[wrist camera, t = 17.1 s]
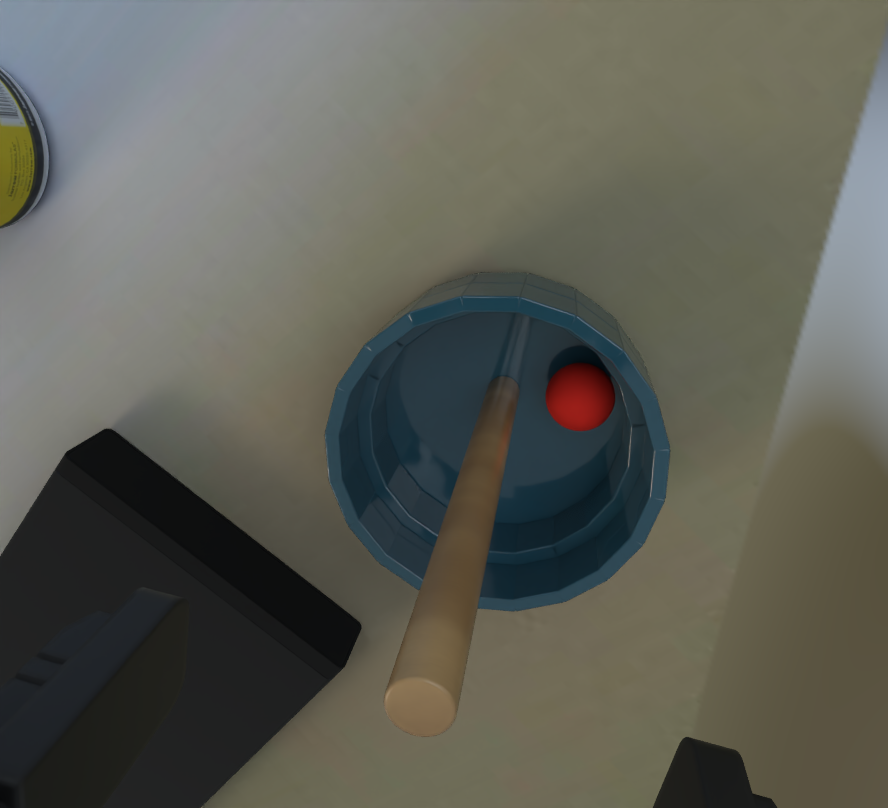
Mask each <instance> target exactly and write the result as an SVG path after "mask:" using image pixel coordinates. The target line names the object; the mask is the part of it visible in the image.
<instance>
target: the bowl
mask: <svg viewBox="0 0 888 808" xmlns="http://www.w3.org/2000/svg"><path fill="white" fill-rule="evenodd" d="M573 363H588V364H592V365H594V366H596V367H598V368H600V369H601V370H603V371H604V372H605V373H606V374H607V375H608V377H609V378H610V379H611V381H612V383H613V386H614V390H615V404H614V408H613V410H612V412H611V414H610V416H609V417H608V418H607V420H606V421H605V422H604V423H602V424H601V425H599V426H598V427H596V428H594V429H591V430H587V431H574V430H570V429H567V428H565V427H563V426H561V425H560V424H559V423H557V422H556V421H555V420H554V419H553V417H552V416H551V414H550V413H549V411H548V408H547V405H546V389H547V386H548V383H549V381H550V379H551V378H552V377H553V375H554V374H555V373H556V372H557V371H558V370H560V369H561V368H563V367H565V366H567V365H570V364H573ZM500 376H506V377H509V378H511V379H513V380H514V381H515V382H516V383H517V384H518V386H519V390H520V393H519V399H518V404H517V409H516V414H515V419H514V424H513V429H512V435H511V440H510V445H509V450H508V455H507V460H506V465H505V470H504V475H503V480H502V486H501V491H500V496H499V501H498V506H497V511H496V516H495V521H494V526H493V532H492V537H491V542H490V547H489V552H488V557H487V562H486V567H485V572H484V577H483V583H482V588H481V593H480V598H479V603H478V608H479V609H491V610H503V611H520V610H526V609H531V608H536V607H542V606H547V605H552V604H558V603H563V602H566V601H568V600H570V599H572V598H574V597H576V596H578V595H580V594H582V593H584V592H586V591H588V590H590V589H591V588H593V587H595V586H597V585H599V584H601V583H603V582H605V581H607V580H608V579H610V578H611V577H612V576H613V575H614V574H615V573H616V572H617V571H618V570H619V569H620V568H621V567H622V566H623V565H624V564H625V563H626V562H627V561H628V560H629V559H630V558H631V557H632V556H633V555H634V554H635V553H636V552H637V551H638V550H639V549H640V548H641V547H642V546H643V544H644V543H645V541H646V539H647V537H648V535H649V533H650V531H651V528H652V526H653V524H654V522H655V520H656V518H657V516H658V514H659V512H660V510H661V508H662V506H663V504H664V502H665V498H666V490H667V479H668V469H669V459H670V445H669V441H668V437H667V433H666V430H665V426H664V422H663V418H662V414H661V411H660V407H659V403H658V399H657V396H656V394H655V391H654V388H653V386H652V383H651V380H650V378H649V375H648V372H647V369H646V367H645V364H644V361H643V359H642V357H641V355H640V353H639V352H638V351H637V349H636V348H635V346H634V345H633V343H632V342H631V340H630V339H629V338H628V336H627V335H626V333H625V332H624V330H623V329H622V327H621V326H620V324H619V323H618V322H617V320H616V319H614V317H613V316H612V315H611V314H609V313H608V312H607V311H605V310H604V309H603V308H601V307H600V306H598V305H597V304H596V303H594V302H593V301H592V300H590V299H589V298H588V297H586V296H585V295H584V294H582V293H581V292H580V291H578V290H577V289H575V290H574V288H573V287H570V286H567V285H564V284H561V283H558V282H555V281H552V280H549V279H546V278H543V277H540V276H537V275H533V274H530V273H529V274H527V273H490V272H481V273H479V274H478V273H475V274H472V275H469V276H466V277H463V278H460V279H457V280H454V281H451V282H447V283H444V284H441V285H438V286H435V287H434V288H432V289H430V290H428V291H427V292H426V293H424V294H423V295H422V296H420V297H419V298H418V299H416V300H415V301H414V302H412V303H411V304H410V305H408V306H407V307H406V308H404V309H403V310H402V311H400V312H399V313H398V314H397V315H396V316H394V317H393V318H392V319H391V320H390V321H389V322H388V323H387V324H386V325H385V326H384V327H383V328H382V329H381V330H380V331H378V332H377V333H376V334H375V335H374V336H373V337H372V338H371V339H370V340H369V341H368V342H367V343H366V344H365V345H364V346H363V348H362V349H361V350H360V352H359V353H358V355H357V356H356V358H355V359H354V361H353V362H352V364H351V365H350V367H349V368H348V370H347V371H346V373H345V374H344V376H343V377H342V379H341V380H340V382H339V383H338V385H337V387H336V390H335V394H334V398H333V402H332V406H331V410H330V414H329V418H328V422H327V426H326V430H325V444H326V455H327V467H328V479H329V482H330V485H331V487H332V490H333V492H334V494H335V497H336V499H337V502H338V504H339V506H340V509H341V511H342V513H343V516H344V518H345V520H346V523H347V524H348V526H349V528H350V529H351V530H352V531H353V532H354V534H355V535H356V536H357V537H358V539H359V540H360V541H361V542H362V543H363V545H364V546H365V547H366V548H367V549H368V551H369V552H370V553H371V554H372V555H373V557H374V558H375V559H376V560H377V561H378V562H379V563H380V564H381V565H383V566H384V567H386V568H387V569H388V570H390V571H391V572H393V573H394V574H396V575H397V576H399V577H400V578H401V579H403V580H404V581H406V582H407V583H409V584H410V585H411V586H413V587H414V588H416V589H417V590H420V588H421V585H422V582H423V579H424V576H425V573H426V570H427V567H428V564H429V561H430V558H431V555H432V552H433V549H434V546H435V543H436V540H437V537H438V534H439V531H440V528H441V525H442V522H443V519H444V517H445V514H446V511H447V508H448V505H449V502H450V499H451V496H452V493H453V490H454V487H455V484H456V481H457V478H458V475H459V472H460V469H461V466H462V463H463V460H464V457H465V454H466V451H467V448H468V445H469V442H470V439H471V436H472V433H473V430H474V427H475V424H476V421H477V418H478V415H479V412H480V409H481V407H482V404H483V401H484V398H485V395H486V392H487V389H488V386H489V384H490V382H491V381H492V380H493V379H495V378H497V377H500Z"/></svg>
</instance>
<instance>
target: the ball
mask: <svg viewBox="0 0 888 808" xmlns="http://www.w3.org/2000/svg"><path fill="white" fill-rule="evenodd" d="M614 404H615V390H614V386H613V383H612V381H611V379H610V378H609V377H608V375H607V374H606V373H605V372H604V371H603V370H601V369H600V368H598V367H596V366H594V365H592V364H588V363H573V364H570V365H567V366H565V367H563V368H561V369H560V370H558V371H557V372H556V373H555V374H554V375H553V377H552V378H551V379H550V381H549V383H548V386H547V389H546V405H547V408H548V411H549V413H550V414H551V416H552V417H553V419H554V420H555V421H556V422H557V423H559V424H560V425H561V426H563V427H565V428H567V429H570V430H574V431H587V430H591V429H594V428H596V427H598V426H599V425H601V424H602V423H604V422H605V421H606V420H607V418H608V417H609V416H610V414H611V412H612V410H613V408H614Z"/></svg>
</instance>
